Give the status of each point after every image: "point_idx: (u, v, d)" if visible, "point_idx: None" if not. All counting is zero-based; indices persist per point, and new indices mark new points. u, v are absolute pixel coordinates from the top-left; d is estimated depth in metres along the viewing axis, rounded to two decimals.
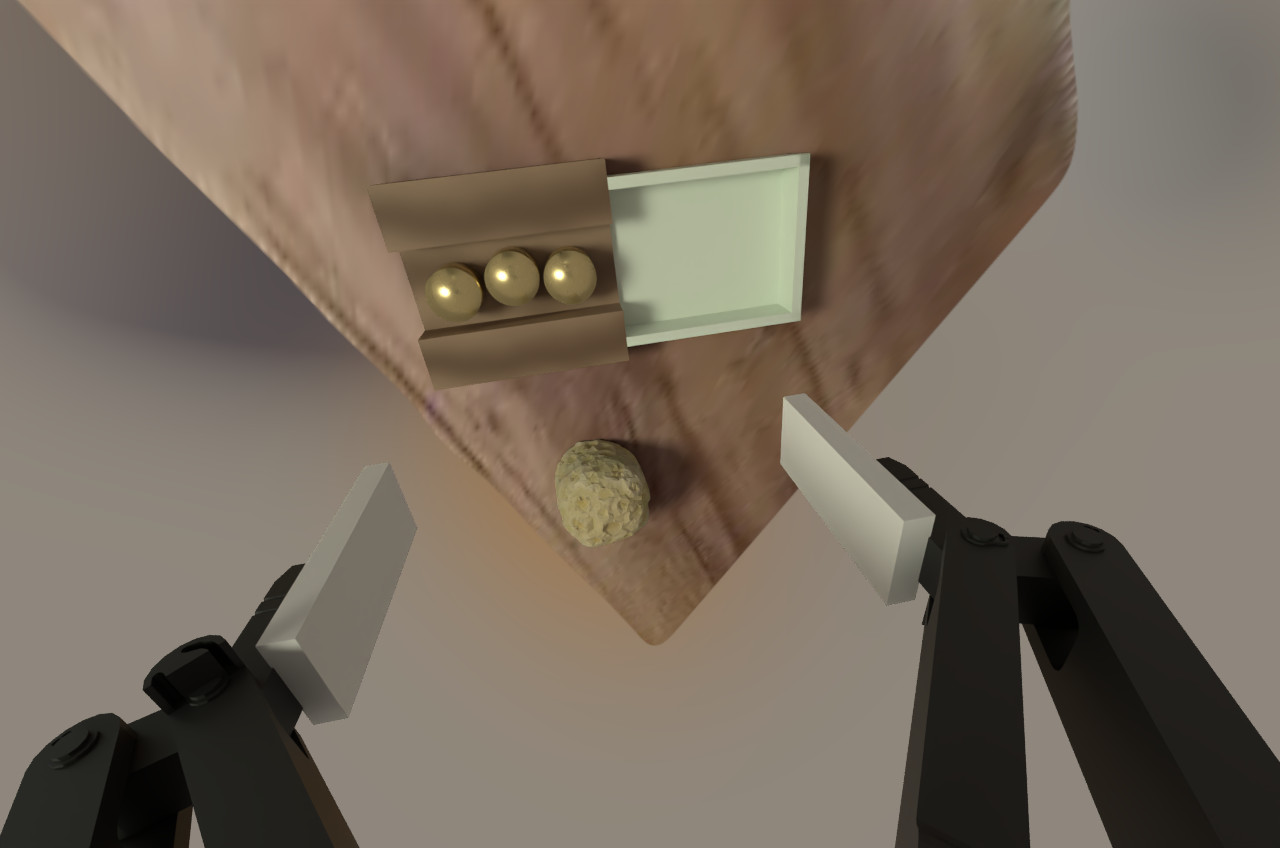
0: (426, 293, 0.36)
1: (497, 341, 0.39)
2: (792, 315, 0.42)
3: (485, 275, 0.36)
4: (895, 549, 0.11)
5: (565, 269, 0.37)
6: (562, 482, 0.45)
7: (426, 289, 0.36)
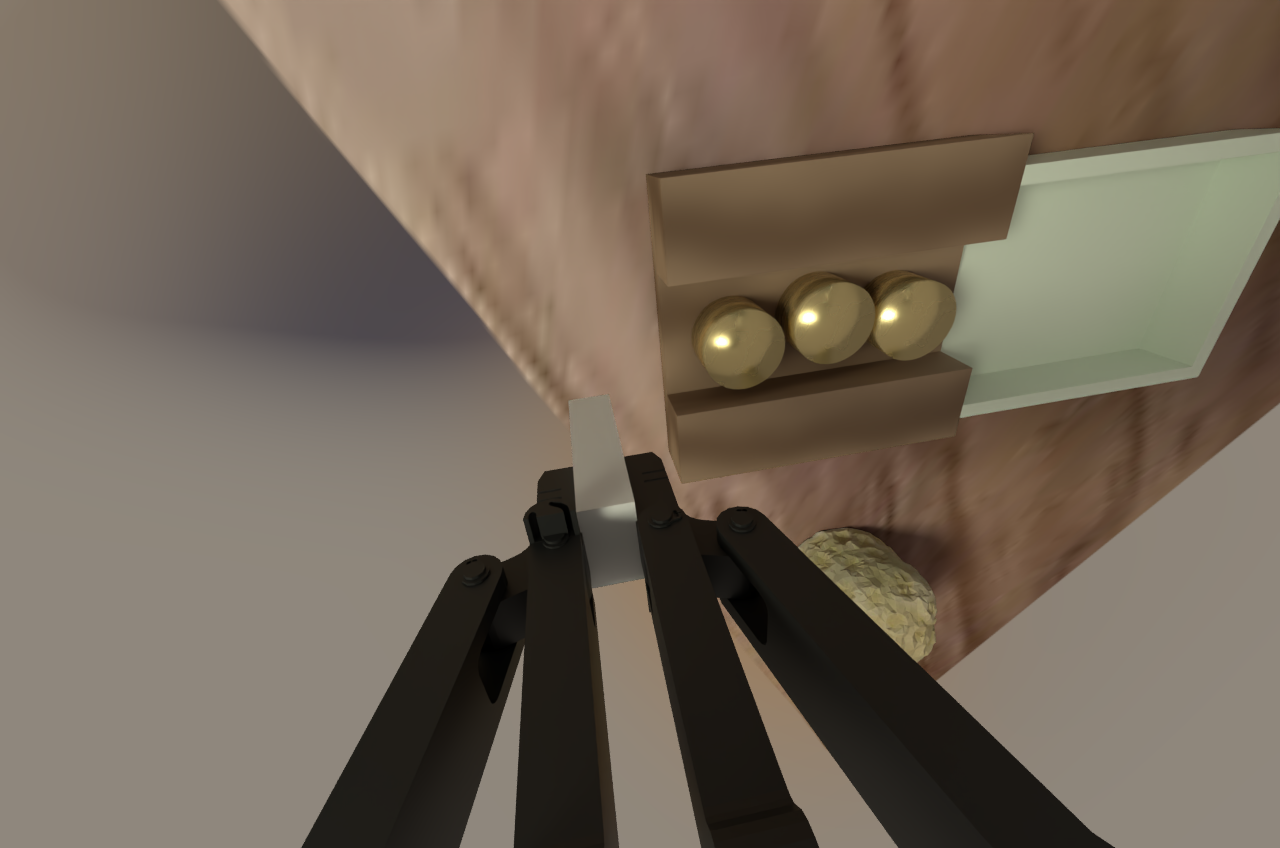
0: (707, 347, 0.23)
1: (786, 415, 0.26)
2: (1191, 370, 0.28)
3: (799, 319, 0.23)
4: (611, 532, 0.13)
5: (915, 310, 0.24)
6: None
7: (709, 341, 0.23)
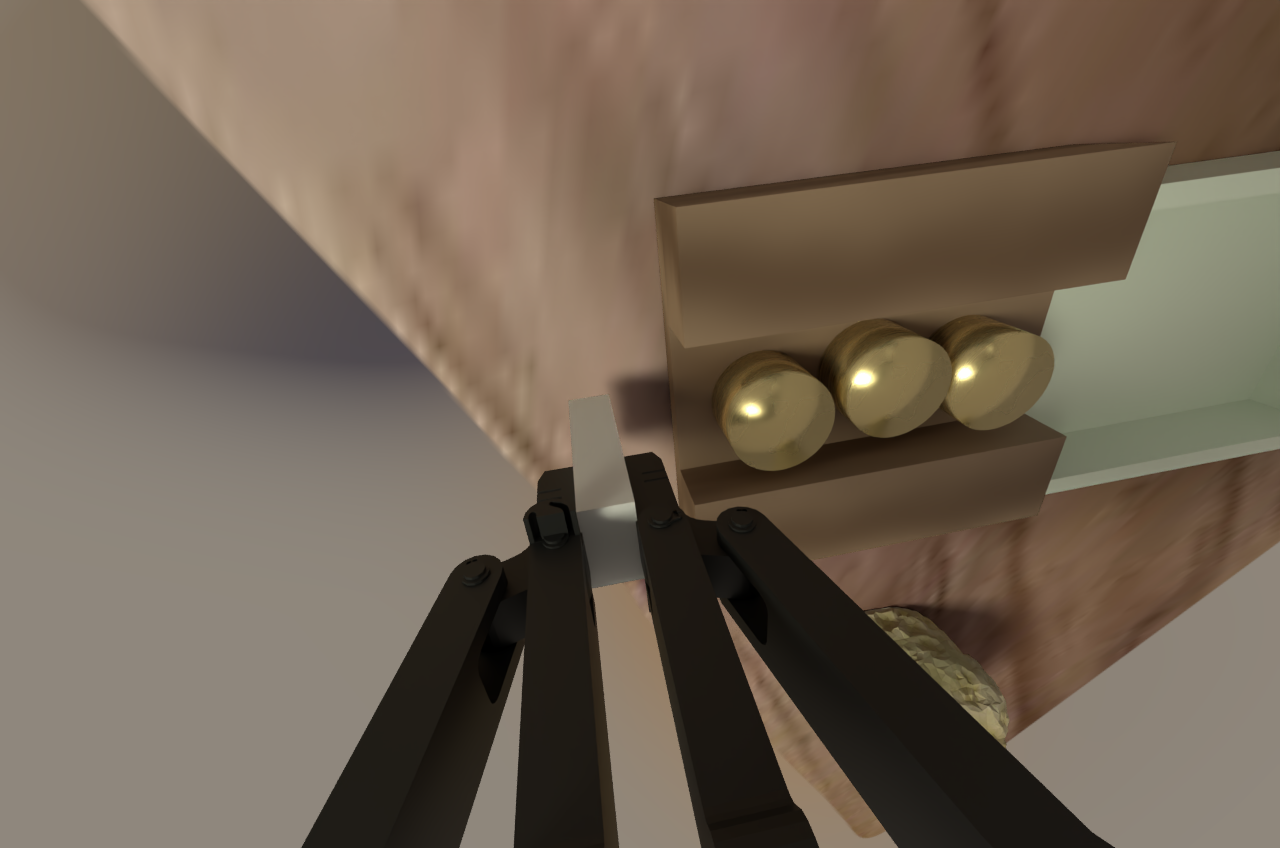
0: (734, 420, 0.18)
1: (833, 499, 0.20)
2: None
3: (855, 385, 0.18)
4: (610, 532, 0.13)
5: (1002, 369, 0.18)
6: None
7: (737, 413, 0.18)
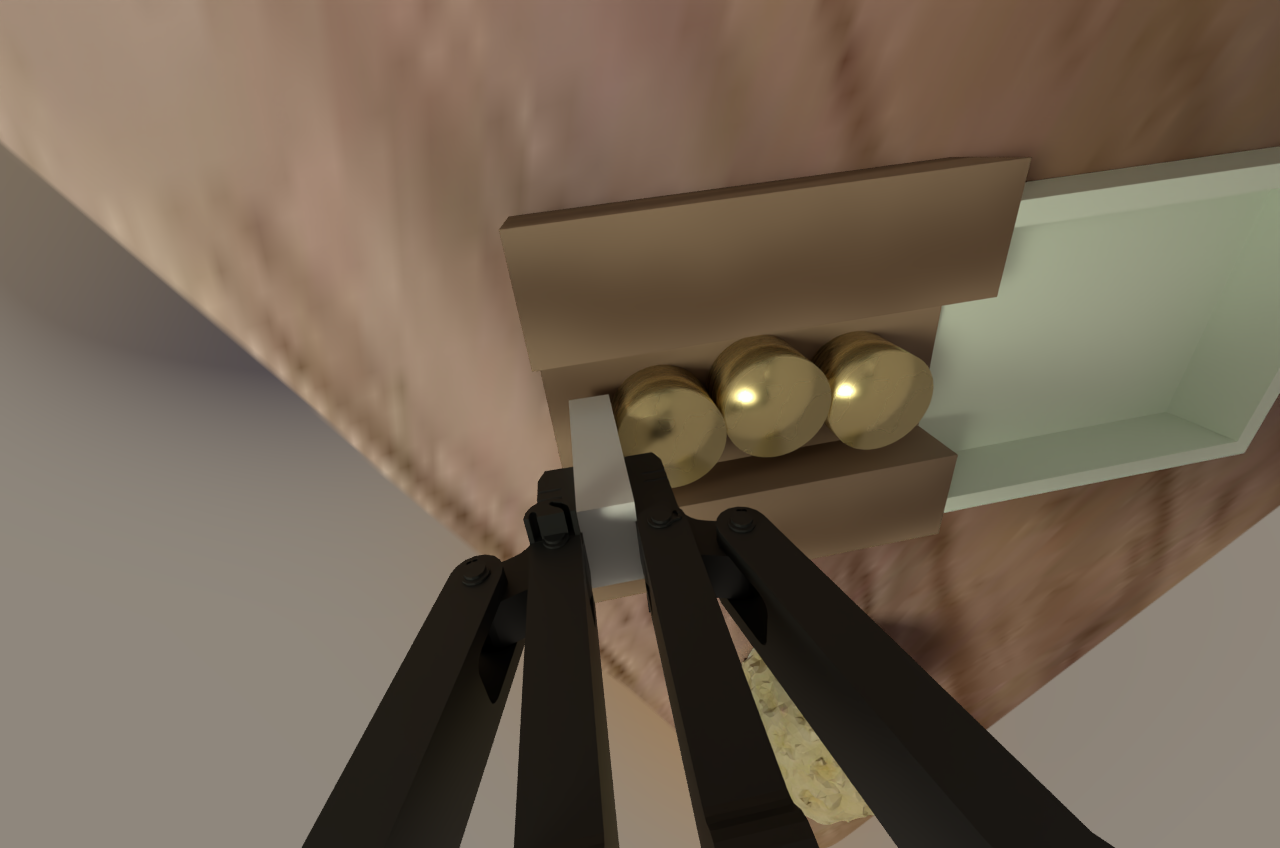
0: (621, 439, 0.17)
1: None
2: (1236, 445, 0.23)
3: (728, 405, 0.17)
4: (610, 532, 0.13)
5: (878, 388, 0.18)
6: (776, 719, 0.26)
7: (622, 432, 0.17)
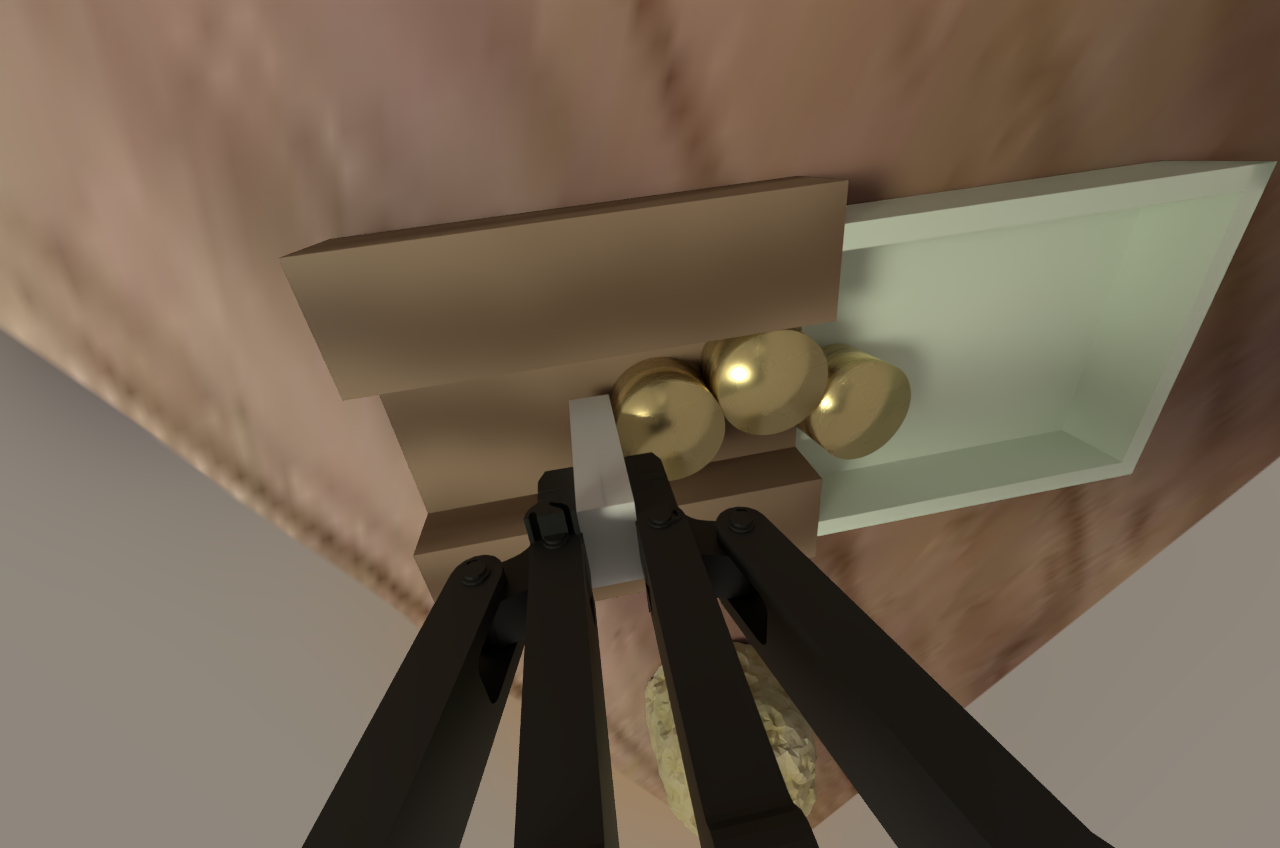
0: None
1: None
2: (1121, 466, 0.22)
3: (721, 383, 0.17)
4: (610, 532, 0.13)
5: (866, 398, 0.18)
6: (669, 742, 0.26)
7: (618, 433, 0.17)
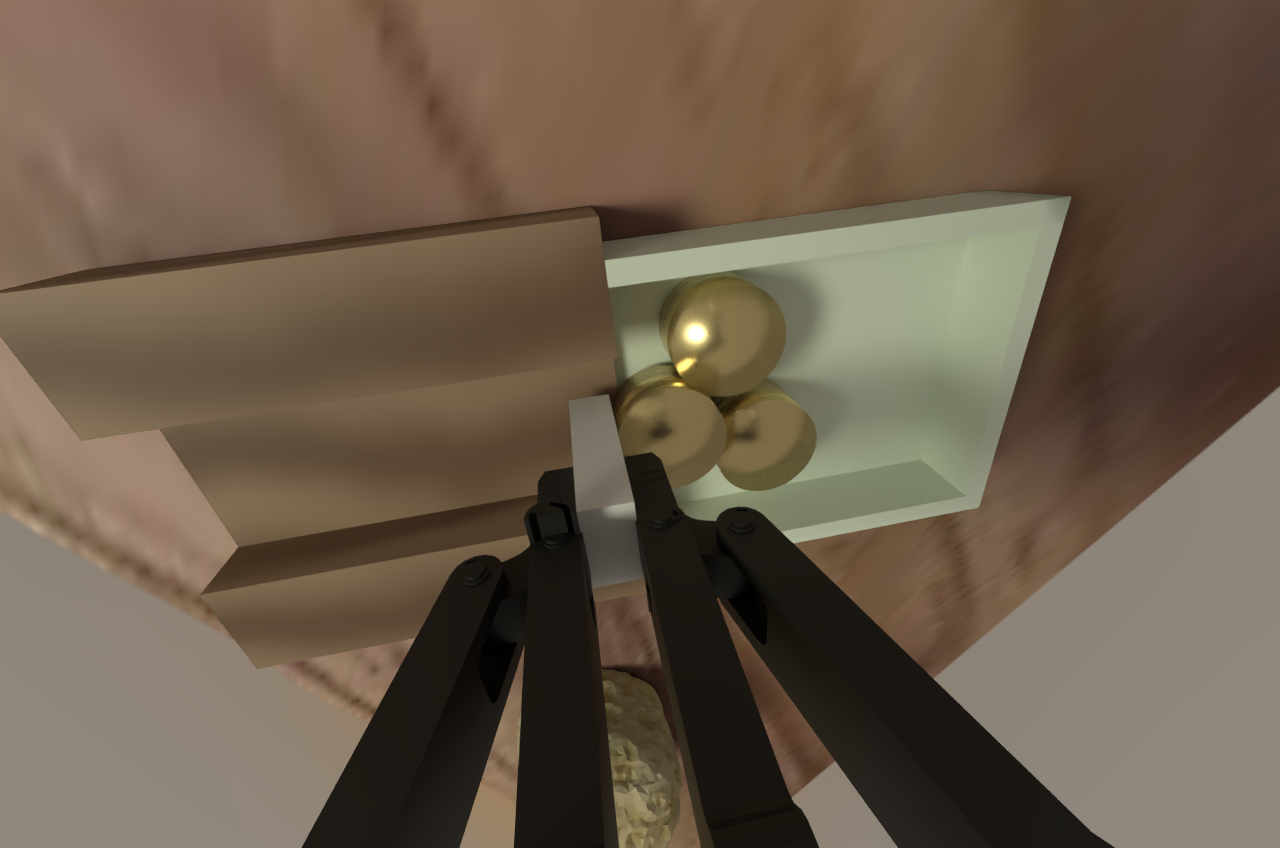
0: None
1: (376, 584, 0.19)
2: (966, 500, 0.21)
3: (678, 367, 0.17)
4: (610, 532, 0.13)
5: (773, 433, 0.19)
6: None
7: (621, 441, 0.17)
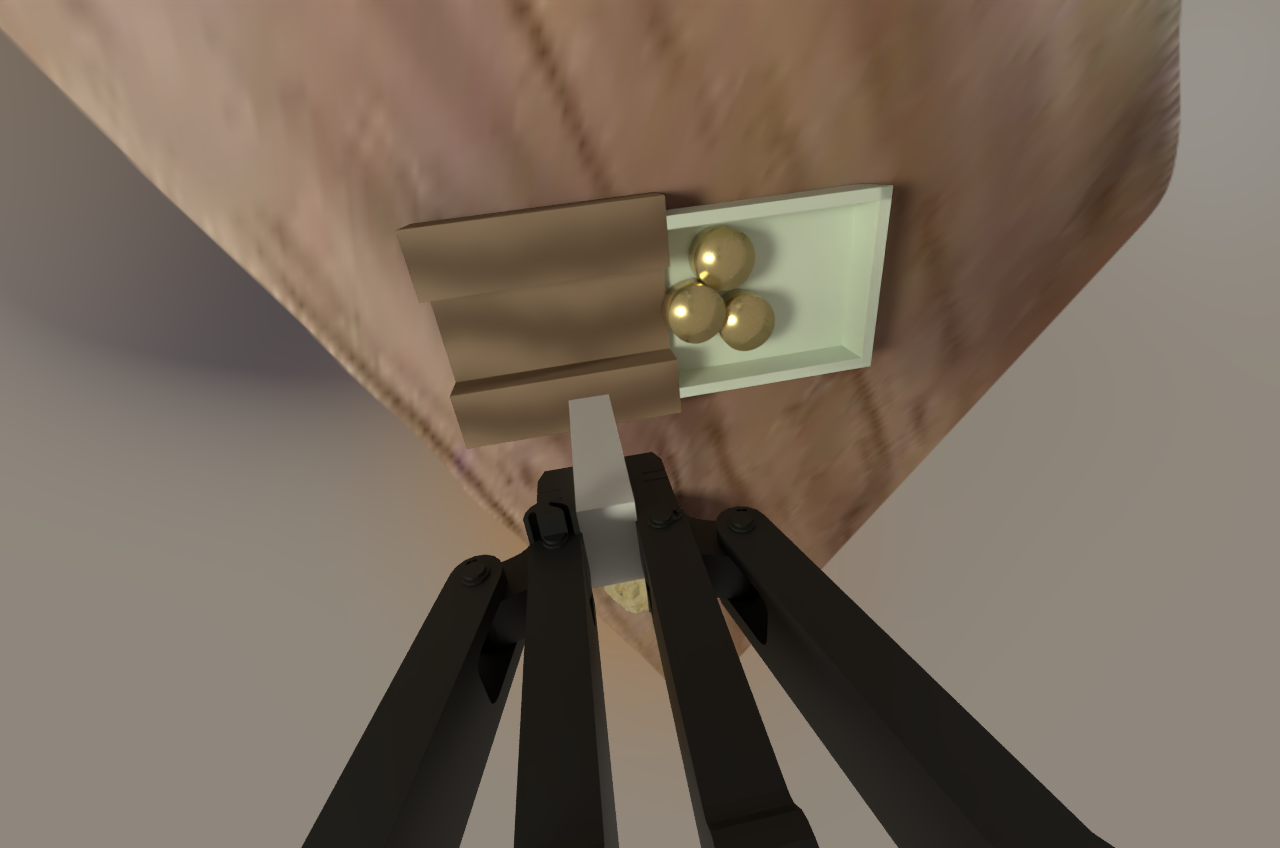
0: (671, 318, 0.34)
1: (537, 395, 0.35)
2: (862, 360, 0.38)
3: (700, 273, 0.33)
4: (611, 532, 0.13)
5: (751, 315, 0.35)
6: None
7: (671, 313, 0.33)
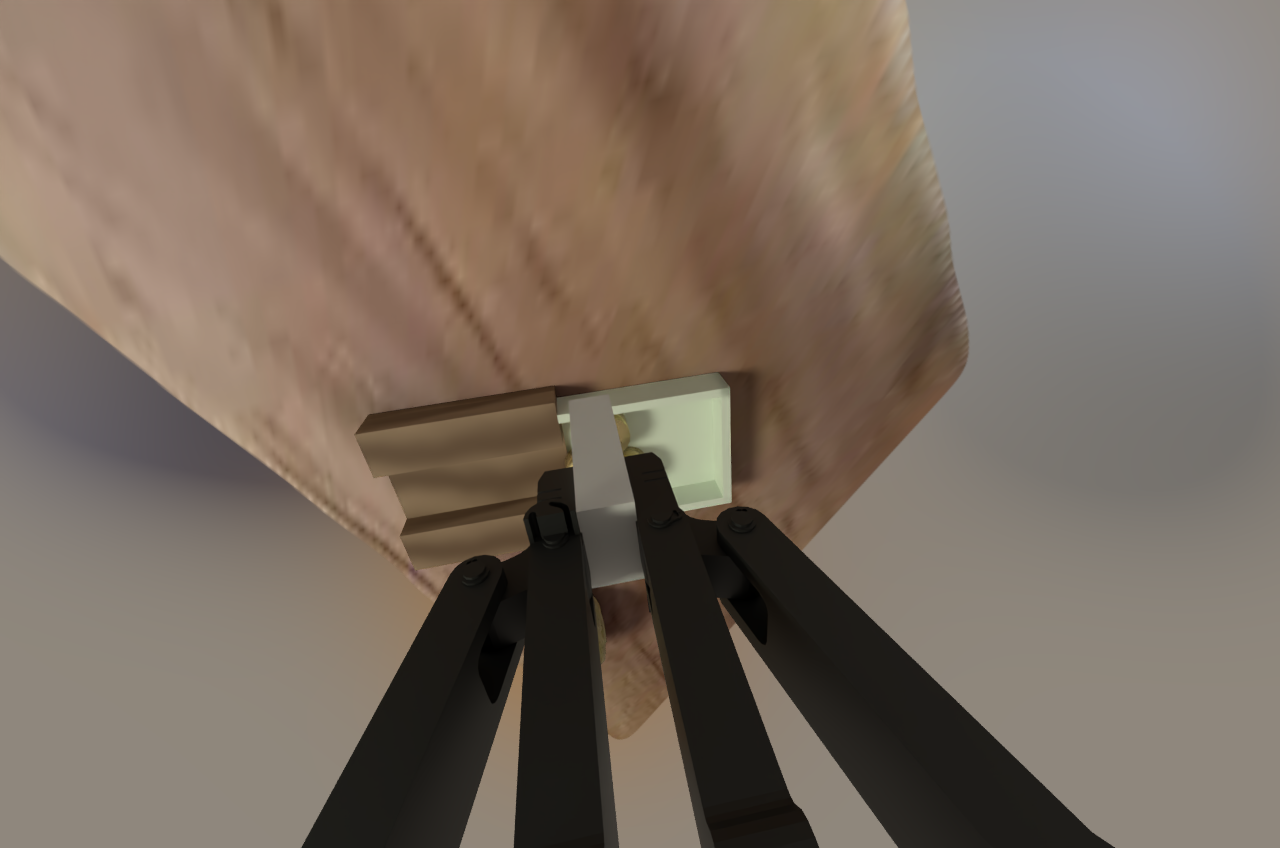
0: None
1: (467, 533, 0.46)
2: (724, 499, 0.48)
3: None
4: (611, 532, 0.13)
5: None
6: None
7: None
